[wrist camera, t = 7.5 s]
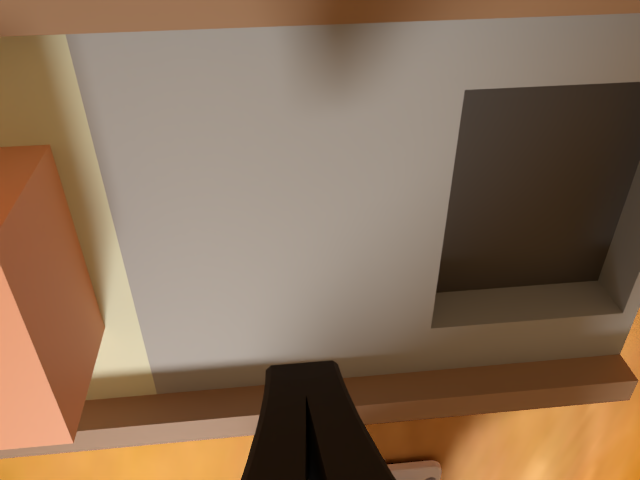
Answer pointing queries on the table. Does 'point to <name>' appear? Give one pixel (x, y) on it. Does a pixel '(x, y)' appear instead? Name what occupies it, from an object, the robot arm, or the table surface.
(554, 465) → the table surface
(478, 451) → the table surface
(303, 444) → the robot arm
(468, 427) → the table surface
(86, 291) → the block
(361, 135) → the grey long tray
